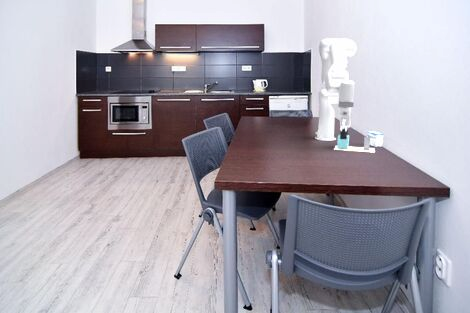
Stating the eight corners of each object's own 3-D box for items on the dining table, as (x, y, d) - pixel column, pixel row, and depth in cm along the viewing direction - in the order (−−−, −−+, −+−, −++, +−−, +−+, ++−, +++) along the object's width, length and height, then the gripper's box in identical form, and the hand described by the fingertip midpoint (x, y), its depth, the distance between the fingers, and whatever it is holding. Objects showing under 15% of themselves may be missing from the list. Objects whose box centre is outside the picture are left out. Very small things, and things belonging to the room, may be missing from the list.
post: (363, 149, 196) (364, 136, 194) (363, 148, 198) (364, 136, 197) (369, 150, 195) (370, 137, 193) (369, 149, 198) (370, 136, 196)
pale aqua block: (337, 148, 199) (337, 136, 197) (337, 146, 204) (338, 134, 202) (347, 149, 197) (348, 136, 196) (348, 147, 202) (349, 135, 201)
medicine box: (365, 146, 213) (367, 131, 211) (372, 146, 214) (373, 131, 213) (375, 149, 206) (377, 133, 204) (382, 148, 207) (383, 133, 205)
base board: (333, 152, 197) (333, 149, 196) (335, 148, 208) (335, 145, 207) (374, 155, 190) (374, 152, 190) (374, 150, 201) (374, 148, 201)
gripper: (352, 106, 186) (350, 140, 189) (354, 104, 202) (351, 136, 205) (337, 105, 189) (335, 139, 192) (339, 104, 205) (337, 135, 208)
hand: (343, 138), depth 199 cm, fingers open, 9 cm apart
